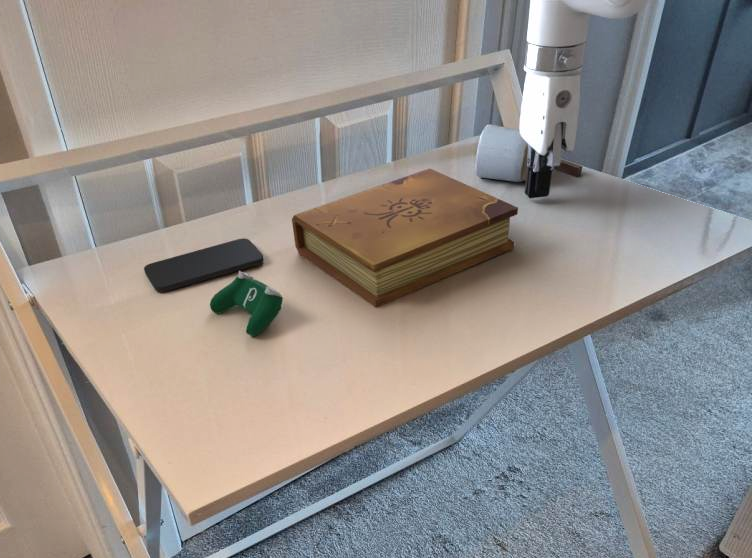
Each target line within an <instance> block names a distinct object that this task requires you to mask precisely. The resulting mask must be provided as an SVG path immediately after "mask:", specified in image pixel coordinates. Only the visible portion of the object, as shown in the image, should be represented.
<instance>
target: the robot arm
mask: <svg viewBox="0 0 752 558" xmlns="http://www.w3.org/2000/svg"><path fill="white" fill-rule="evenodd" d="M650 1H651V0H530V2H529V13H528V23H527V34H526V43H525V52H524V63H523V70H524V72H526V73H525V78H524V85H523V91H522V99H521V105H520V113H519V130H520V134H521V136H522V138H523V139H524V140H525V141H526V144H527V145H528V157H527V164H528V166H531V167H528V168H527V177H526V180H525V187H524V194H525V195H526V196H527V197H528V199H537V198H544V197H545V198H546V197H548V196H549V195H550V191H551V182H552V175H553V171H554V170H555V169H554V166H559V165H560V163H561V159H562V150H563V151H565V152H566V153H569V154H570V153H572V152H573V151H574V149H575V147H576V140H577V132H578V123H579V116H580V115H579V113H580V101H581V73H580V72H582V70H583V64H584V56H585V52H586V45H587V38H588V30H589V24H590V20H591V19H590V18H591V15H593V16H597V17H601V18H605V19H611V20H622V19H627V18H630V17H633V16H634V15H637V13H639V12H640V11H642V10H643V9H644V8H645V7H646V5H647V4H648V3H650Z"/></svg>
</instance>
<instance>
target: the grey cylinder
mask: <svg viewBox="0 0 752 558" xmlns="http://www.w3.org/2000/svg"><path fill="white" fill-rule="evenodd" d="M527 157H528V145H527V144H526V141H525V140H524V139H523V138H522V136H521V134H520V129H516V128H511V127H505V126H502V125H501V126H500V125H496V124H491V123H489V124H487V125H486V126H484V128H483V130H482V132H481V134H480V137H479V141H478V143H477V151H476V155H475V174H476V176H477V177H478V178H484V179H492V180H499V181H507V182H515V183H517V182H519V183H520V182H526V177H527V168H528V167H531V166H528V164H527Z"/></svg>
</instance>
